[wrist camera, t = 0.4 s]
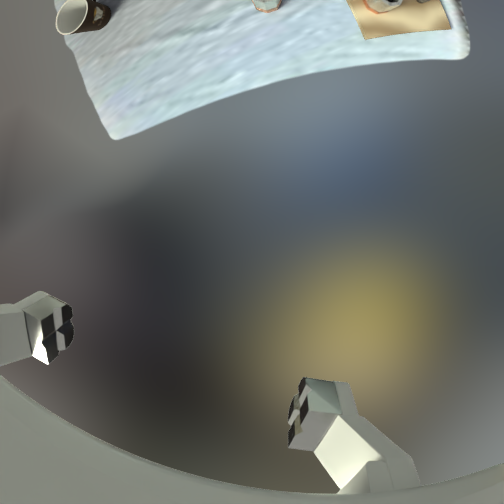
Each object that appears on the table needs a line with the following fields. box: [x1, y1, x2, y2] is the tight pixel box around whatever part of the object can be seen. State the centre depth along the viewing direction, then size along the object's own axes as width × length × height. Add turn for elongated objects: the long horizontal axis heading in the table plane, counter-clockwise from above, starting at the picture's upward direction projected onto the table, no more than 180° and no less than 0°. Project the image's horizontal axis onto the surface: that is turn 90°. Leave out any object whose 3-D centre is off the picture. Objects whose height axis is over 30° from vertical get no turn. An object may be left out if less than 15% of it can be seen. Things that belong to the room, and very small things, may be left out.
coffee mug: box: [56, 0, 111, 35], centre depth 32 cm, size 12×9×10 cm
